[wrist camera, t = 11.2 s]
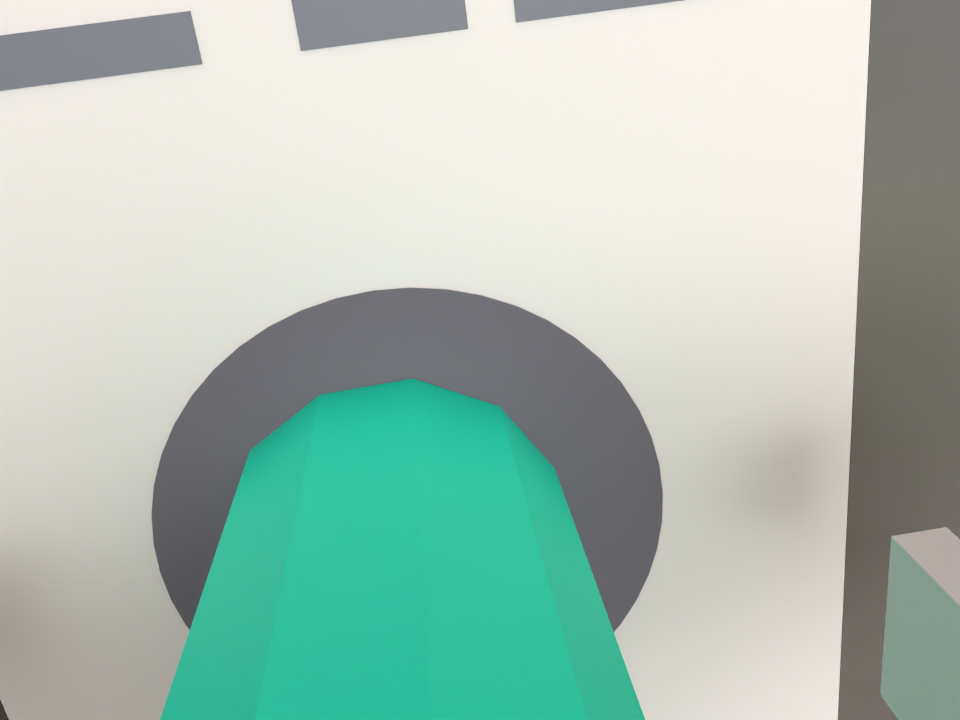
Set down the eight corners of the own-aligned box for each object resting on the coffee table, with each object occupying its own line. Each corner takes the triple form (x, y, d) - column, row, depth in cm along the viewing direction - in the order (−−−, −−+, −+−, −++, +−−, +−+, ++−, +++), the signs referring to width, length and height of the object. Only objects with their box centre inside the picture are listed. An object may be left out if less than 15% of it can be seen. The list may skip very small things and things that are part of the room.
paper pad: (818, 888, 21) (830, 911, 20) (149, 1010, 20) (142, 1036, 19) (867, -333, 12) (888, -349, 11) (-354, -192, 11) (-391, -203, 10)
